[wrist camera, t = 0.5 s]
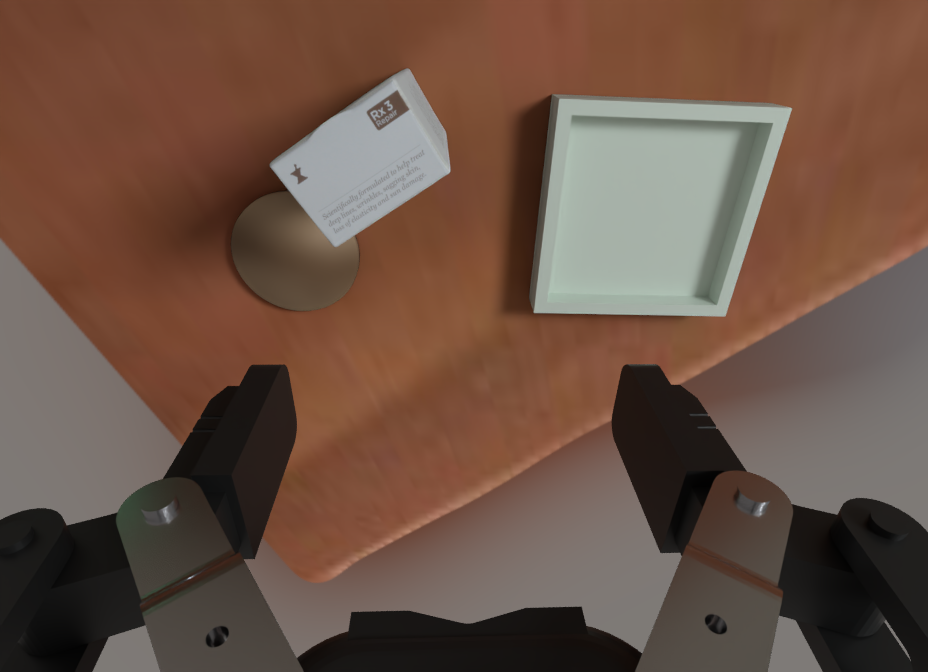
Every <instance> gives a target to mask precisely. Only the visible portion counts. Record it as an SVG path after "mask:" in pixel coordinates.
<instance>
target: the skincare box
mask: <svg viewBox="0 0 928 672" xmlns="http://www.w3.org/2000/svg"><path fill="white" fill-rule="evenodd" d="M270 168H271V169H272V170H273V171H274V172H275V174H276V175H277V176H278V177H279V179H280V180H281V181H282V183H283V184H284V185H285V186H286V188H287V189H288V190H289V191H290V193H291V194H292V195H293V196H294V198H295V199H296V200H297V202H298V203H299V204H300V205H301V207H302V208H303V209H304V210H305V212H306V213H307V214H308V215H309V217H310V218H311V219H312V221H313V222H314V223H315V224H316V226H317V227H318V228H319V229H320V231H321V232H322V233H323V234H324V235H325V237H326V238H327V239H328V240H329V242H330V243H331V244H332V245H333V246H334V247H338V246H340V245H341V244H343V243H344V242H346V241H347V240H348V239H350V238H351V237H353V236H354V235H356V234H357V233H359V232H361V231H362V230H364V229H365V228H367V227H368V226H370V225H371V224H373V223H374V222H376V221H377V220H379V219H380V218H382V217H383V216H385V215H386V214H388V213H389V212H391V211H393V210H394V209H396V208H397V207H399V206H400V205H402V204H403V203H405V202H406V201H408V200H409V199H411V198H412V197H414V196H415V195H417V194H418V193H420V192H421V191H423V190H424V189H426V188H428V187H429V186H431V185H432V184H434V183H435V182H436V181H438V180H439V179H441V178H442V177H444V176H445V175H447V174H449V173H450V161H449V153H448V144H447V136H446V131H445V130H444V128H443V127H442V125H441V123H440V122H439V120H438V118H437V117H436V115H435V113H434V112H433V110H432V108H431V106H430V105H429V103H428V101H427V99H426V98H425V96H424V94H423V92H422V91H421V89H420V87H419V85H418V84H417V82H416V80H415V78H414V76H413V75H412V73H411V71H410V70H409V69H408V68H406V69H404V70H402V71H400V72H399V73H397V74H395V75H393V76H391V77H390V78H388V79H387V80H385V81H384V82H382V83H381V84H379V85H378V86H376V87H375V88H373V89H372V90H370V91H369V92H367V93H366V94H364V95H363V96H361V97H360V98H359V99H357V100H356V101H354V102H353V103H352V104H350V105H349V106H347V107H346V108H345V109H343V110H342V111H340V112H339V113H337V114H336V115H335V116H333V117H332V118H330V119H329V120H327V121H326V122H324V123H323V124H322V125H320V126H319V127H318V128H317V129H315V130H314V131H312V132H311V133H310V134H308V135H307V136H306V137H304V138H303V139H301V140H300V141H299V142H297V143H296V144H295V145H293V146H292V147H291V148H289V149H288V150H286V151H285V152H284V153H282V154H281V155H279V156H278V157H277V158H275V159H274V160H273V161H272V162H271V163H270Z"/></svg>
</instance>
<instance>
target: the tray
mask: <svg viewBox="0 0 928 672" xmlns="http://www.w3.org/2000/svg"><path fill="white" fill-rule="evenodd" d="M791 110H792V108H790V107H785V106H781V105H777V104H772V103H754V102H730V101H705V100H681V99H656V98H632V97H607V96H583V95H558V94H552V98H551V107H550V116H549V125H548V134H547V143H546V151H545V160H544V169H543V178H542V187H541V196H540V205H539V214H538V223H537V231H536V240H535V249H534V258H533V267H532V276H531V285H530V294H529V300H530V303H531V306H532V309H533V312H534V313H568V314H623V315H678V316H726V312H727V309H728V306H729V303H730V300H731V297H732V294H733V291H734V288H735V284H736V281H737V278H738V275H739V272H740V269H741V266H742V263H743V260H744V256H745V253H746V250H747V247H748V244H749V241H750V238H751V235H752V232H753V228H754V225H755V222H756V219H757V216H758V213H759V210H760V207H761V204H762V200H763V197H764V194H765V191H766V188H767V185H768V182H769V179H770V176H771V172H772V169H773V166H774V163H775V160H776V157H777V154H778V151H779V147H780V144H781V141H782V138H783V135H784V132H785V129H786V126H787V123H788V119H789V116H790V113H791Z"/></svg>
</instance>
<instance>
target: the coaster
mask: <svg viewBox="0 0 928 672" xmlns="http://www.w3.org/2000/svg"><path fill="white" fill-rule="evenodd" d="M231 251H232V257H233V261H234V263H235V266H236V268H237V270H238V272H239V274H240V276H241V277H242V279H243V280H244V282H245V283H246V284H247V285H248V286H249V287H250V288H251V289H252V290H253V291H254V292H255V293H256V294H257V295H259V296H260V297H261V298H263V299H264V300H266V301H268V302H270V303H272V304H274V305H276V306H279V307H282V308H285V309H290V310H296V311H311V310H317V309H321V308H324V307H327V306H329V305H331V304H333V303H335V302H336V301H338V300H339V299H340V298H342V297H343V296H344V295H345V294H346V293H347V292H348V290H349V289H350V287H351V286H352V284H353V282H354V280H355V278H356V275H357V271H358V268H359V262H360V252H359V245H358V242H357V238H356V236H355V235H354V236H353V237H351V238H350V239H348V240H347V241H346V242H344V243H343V244H341V245H340V246H338V247H334V246H333V245H332V244H331V243H330V242H329V240H328V239H327V238H326V237H325V235H324V234H323V233H322V232H321V231H320V229H319V228H318V227H317V226H316V224H315V223H314V222H313V221H312V219H311V218H310V217H309V215H308V214H307V213H306V212H305V210H304V209H303V208H302V207H301V205H300V204H299V203H298V202H297V200H296V199H295V198H294V196H293V195H292V194H291V193H290V191H278V192H273V193H270V194H267V195H264V196H262V197H260V198H258V199H257V200H255V201H254V202H252V203H251V204H250V205H249V206H248V207H247V208H246V209H245V210H244V211H243V212H242V213H241V215H240V216H239V217H238V219H237V221H236V223H235V225H234V228H233V231H232V237H231Z"/></svg>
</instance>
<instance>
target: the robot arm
mask: <svg viewBox="0 0 928 672" xmlns="http://www.w3.org/2000/svg"><path fill="white" fill-rule="evenodd" d="M707 414H708V413H707V412H706V410H705V409H704V407H703V406H702V404H701V403H700V402H699V400H698V398H696V397H695V396H694V395H693V394H691V393H690V392H688V391H687V390H686V389H685V388H683V387H682V386H681V385H671V384H670V382H669V381H668V379H667V378H666V376H665V374H664V373H663V371H662V370H661V368H660V367H659V366H658V365H656V364H627V365H624V367H623V368H622V371H621V375H620V380H619V385H618V390H617V395H616V399H615V404H614V409H613V414H612V432H613V437H614V441H615V443H616V446H617V448H618V450H619V453H620V455H621V458H622V460H623V463H624V465H625V468H626V470H627V472H628V475H629V477H630V480H631V482H632V485H633V487H634V489H635V492H636V494H637V497H638V499H639V502H640V504H641V506H642V509H643V511H644V514H645V516H646V518H647V521H648V523H649V526H650V528H651V531H652V533H653V536H654V538H655V540H656V543H657V545H658V548H659V550H660V553H681V556H682V558H681V560H680V562H679V565H678V568H677V570H676V572H675V575H674V577H673V580H672V582H671V584H670V587H669V589H668V592H667V594H666V597H665V599H664V602H663V604H662V607H661V609H660V611H659V614H658V617H657V619H656V621H655V624H654V626H653V629H652V631H651V634H650V636H649V639H648V641H647V644H646V646H645V648H644V651H643V653H641V652H639V651H638V650H637V649H635V648H634V647H632V646H631V645H629V644H628V643H626V642H624V641H623V640H621V639H619V638H617V637H615V636H613V635H611V634H609V633H607V632H604V631H601V630H599V629H596V628H593V627H588V626H586V623H585V619H584V615H583V611H582V607H552V608H551V607H548V608H524V609H521V610H517V611H514V612H510V613H507V614H504V615H500V616H497V617H494V618H490V619H486V620H483V621H479V622H476V623H471V624H464V623H459V622H455V621H450V620H446V619H442V618H437V617H433V616H429V615H425V614H420V613H416V612H412V611H380V612H379V611H376V612H352V613H351V619H350V625H349V631H348V632H345V633H341V634H339V635H336V636H334V637H331V638H329V639H326V640H324V641H323V642H321V643H319V644H317V645H315V646H314V647H312V648H311V649H309V650H308V651H306V652H305V653H303V654H302V655H300V656H299V657H298V658H296V656H295V654H294V652H293V651H292V649H291V647H290V645H289V643H288V641H287V639H286V637H285V636H284V634H283V632H282V630H281V628H280V626H279V624H278V622H277V621H276V619H275V617H274V615H273V613H272V611H271V609H270V608H269V606H268V604H267V602H266V600H265V598H264V596H263V595H262V593H261V591H260V589H259V587H258V585H257V583H256V581H255V579H254V578H253V576H252V574H251V572H250V570H249V568H248V566H247V565H246V563H245V561H244V559H255V556H256V554H257V551H258V548H259V545H260V542H261V539H262V536H263V533H264V530H265V527H266V524H267V521H268V519H269V516H270V513H271V510H272V507H273V504H274V501H275V498H276V495H277V492H278V489H279V486H280V484H281V481H282V478H283V475H284V472H285V469H286V466H287V463H288V460H289V457H290V454H291V451H292V449H293V446H294V442H295V438H296V431H297V418H296V412H295V406H294V400H293V395H292V389H291V383H290V378H289V372H288V369H287V367H286V365H251V366H250V367H249V369H248V371H247V373H246V375H245V376H244V378H243V380H242V382H241V384H240V386H227V387H226V388H225V389H224V390H222V391H221V392H220V393H219V394H217V395H216V396H215V397H213V398H212V399H211V400H210V401H209V403H208V405H207V406H206V408H205V410H204V411H203V413H202V415H201V419H199V420H198V421H197V423H196V425H195V426H194V428H193V432H191V433H190V435H189V436H188V438H187V440H186V441H185V443H184V445H183V446H182V448H181V450H180V451H179V453H178V455H177V456H176V458H175V460H174V461H173V463H172V465H171V466H170V468H169V470H168V471H167V473H166V475H165V476H164V478H163V479H162V480H158V481H155V482H152V483H150V484H148V485H146V486H144V487H142V488H140V489H139V490H137V491H136V492H134V493H133V494H132V495H131V496H129V497H128V498H127V499H126V500H125V502H124V503H123V504H122V505H121V507H120V509H119V511H118V512H117V513H115V514H111V515H107V516H103V517H100V518H96V519H91V520H87V521H84V522H80V523H75V524H71V525H66V523H65V521H64V519H63V518H62V516H61V515H60V514H59V513H58V512H57V511H54V510H51V509H46V508H41V509H40V508H37V509H30V510H25V511H21V512H18V513H15V514H12V515H10V516H8V517H5V518H3V519H1V520H0V672H92V671H93V669H94V667H95V665H96V663H97V661H98V658H99V656H100V654H101V652H102V650H103V648H104V646H105V644H106V642H107V639H108V637H110V636H112V635H116V634H119V633H122V632H125V631H129V630H131V629H135V628H138V627H141V626H144V625H146V628H147V631H148V634H149V637H150V640H151V643H152V647H153V650H154V653H155V656H156V659H157V662H158V665H159V668H160V672H768V668H769V663H770V658H771V653H772V647H773V643H774V638H775V632H776V628H777V623H778V618H779V616H783V617H787V618H791V619H794V620H796V622H797V623H798V625H799V627H800V629H801V631H802V633H803V635H804V637H805V639H806V641H807V643H808V644H809V646H810V648H811V650H812V652H813V654H814V656H815V658H816V660H817V661H818V663H819V665H820V667H821V669H822V671H823V672H928V532H927V531H926V530H925V529H924V528H923V527H922V526H921V525H920V524H919V523H918V522H917V521H915V519H913V518H912V517H910V516H909V515H908V514H906V513H904V512H902V511H901V510H899V509H897V508H895V507H893V506H891V505H889V504H886V503H883V502H880V501H877V500H873V499H867V498H855V499H850V500H848V501H846V502H845V503H844V504H843V506H842V507H841V509H840V511H839V513H838V515H835V514H831V513H827V512H822V511H818V510H814V509H809V508H805V507H800V506H797V505H793V504H791V501H790V500H789V498H788V497H787V495H786V494H785V493H784V492H783V491H782V490H781V489H780V488H779V487H778V486H776V485H775V484H773V483H772V482H771V481H769V480H767V479H765V478H763V477H761V476H759V475H756V474H753V473H750V472H747V471H746V470H745V468H744V467H743V465H742V464H741V462H740V461H739V459H738V458H737V456H736V455H735V453H734V452H733V450H732V449H731V447H730V446H729V445H728V443H727V442H726V440H725V439H724V437H723V436H722V434H721V433H720V431H719V430H718V429H716V425H715V424H714V422H713V421H712V419H711V418H710V416H708V415H707ZM885 620H887V622H888V623H889V625H890V626H891V628H892V629H893V631H894V632H895V634H896V635H897V637H898V638H899V640H900V641H901V642H902V644H903V645H904V647H905V649H906V650H907V652H908V654H909V656H910V659H911V661H910V659H909V658H908V657H907V655H906V654H905V652H904V651H903V650H902V648H901V646H900V645H899V643H898V642H897V640H896V639H895V637H894V636H893V634H892V633H891V631H890V630H889V628H888V627H887V625H886V624H885V623H884V621H885Z"/></svg>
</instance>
